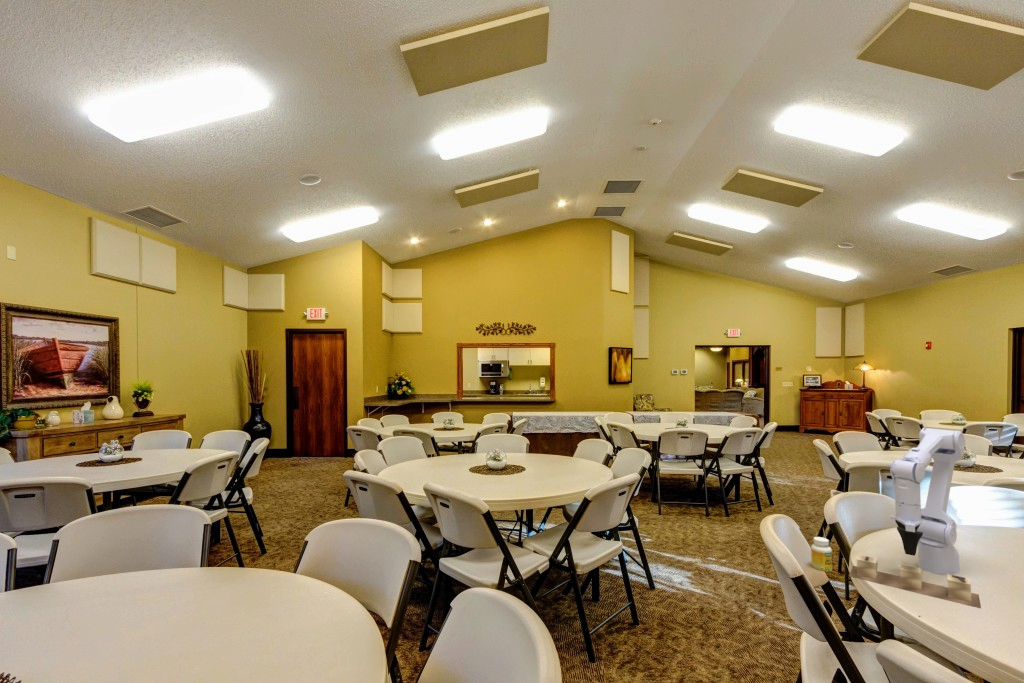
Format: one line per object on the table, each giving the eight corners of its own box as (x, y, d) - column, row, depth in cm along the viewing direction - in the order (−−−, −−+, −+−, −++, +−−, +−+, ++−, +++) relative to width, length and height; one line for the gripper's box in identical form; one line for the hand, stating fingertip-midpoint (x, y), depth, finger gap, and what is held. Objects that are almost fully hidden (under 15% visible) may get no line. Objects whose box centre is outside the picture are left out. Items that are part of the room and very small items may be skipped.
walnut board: (848, 579, 142) (848, 576, 142) (853, 568, 150) (853, 565, 150) (981, 612, 124) (981, 608, 124) (978, 598, 131) (978, 594, 131)
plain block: (900, 585, 137) (900, 568, 137) (901, 579, 140) (900, 564, 140) (921, 590, 134) (920, 573, 134) (921, 584, 137) (921, 568, 137)
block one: (857, 574, 143) (856, 558, 143) (858, 569, 147) (858, 553, 147) (876, 579, 140) (875, 562, 140) (877, 574, 144) (877, 557, 144)
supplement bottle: (816, 565, 152) (816, 534, 152) (835, 572, 147) (835, 540, 148) (808, 569, 149) (807, 538, 149) (827, 576, 144) (826, 543, 145)
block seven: (948, 596, 130) (947, 578, 130) (947, 590, 133) (947, 573, 133) (971, 602, 127) (970, 583, 127) (970, 596, 130) (969, 577, 131)
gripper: (889, 495, 149) (890, 540, 148) (891, 505, 137) (892, 554, 136) (919, 499, 144) (920, 545, 144) (924, 510, 133) (925, 561, 132)
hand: (909, 550), depth 140 cm, fingers open, 7 cm apart
